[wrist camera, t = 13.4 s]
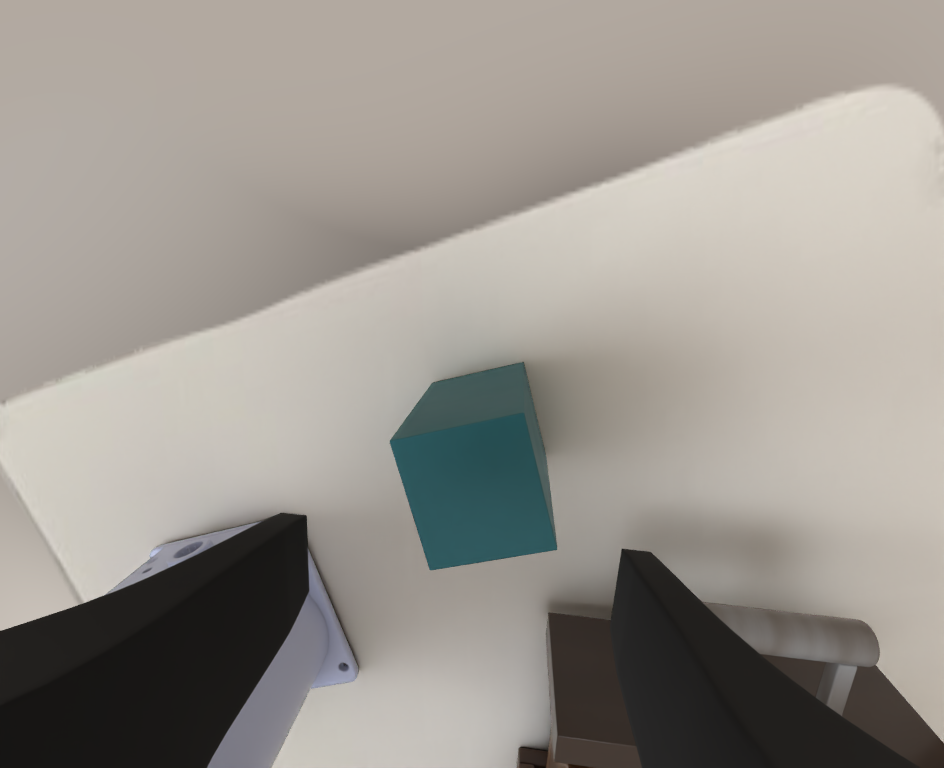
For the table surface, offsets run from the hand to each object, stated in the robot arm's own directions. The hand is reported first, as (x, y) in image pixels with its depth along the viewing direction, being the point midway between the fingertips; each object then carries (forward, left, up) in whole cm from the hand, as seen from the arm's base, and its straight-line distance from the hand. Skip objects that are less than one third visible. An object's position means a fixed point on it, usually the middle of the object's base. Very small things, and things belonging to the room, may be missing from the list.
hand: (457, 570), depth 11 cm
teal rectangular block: (0, 0, -10) cm, 10 cm away
